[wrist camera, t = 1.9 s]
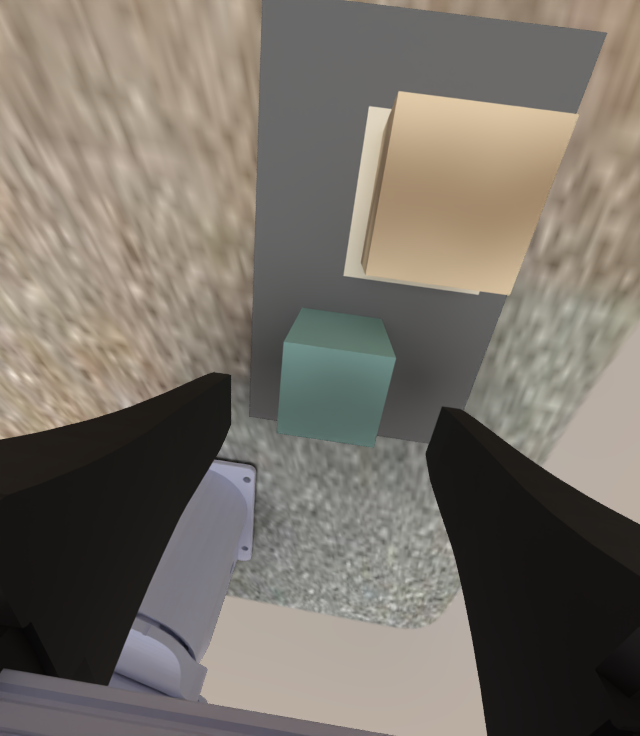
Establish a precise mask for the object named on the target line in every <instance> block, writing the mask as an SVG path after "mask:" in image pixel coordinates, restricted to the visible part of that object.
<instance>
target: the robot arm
mask: <svg viewBox="0 0 640 736" xmlns="http://www.w3.org/2000/svg"><path fill="white" fill-rule="evenodd" d="M230 426H231V375H229V374H222V373H215V372H213V373H210V374H207V375H204V376H202V377H200V378H197V379H195V380H193V381H191V382H188V383H186V384H184V385H182V386H180V387H177V388H175V389H173V390H171V391H168V392H166V393H164V394H161V395H159V396H156V397H154V398H151V399H149V400H146V401H144V402H141V403H139V404H136V405H134V406H131V407H128V408H125V409H122V410H119V411H116V412H113V413H110V414H107V415H104V416H100V417H97V418H94V419H90V420H87V421H83V422H79V423H75V424H71V425H67V426H63V427H59V428H55V429H51V430H47V431H42V432H38V433H33V434H28V435H23V436H18V437H12V438H7V439H1V440H0V736H393V735H388V734H382V733H376V732H370V731H365V730H359V729H352V728H347V727H341V726H335V725H330V724H324V723H318V722H312V721H306V720H300V719H295V718H289V717H283V716H277V715H272V714H266V713H260V712H254V711H248V710H243V709H236V708H231V707H224V706H219V705H214V704H208V703H207V700H206V699H205V698H203V697H202V696H201V695H200V692H201V689H202V686H203V682H204V679H205V676H206V673H207V668H206V667H204V666H202V665H201V664H199V662H200V661H201V659H202V658H203V656H204V654H205V652H206V650H207V648H208V646H209V644H210V641H211V638H212V635H213V632H214V629H215V626H216V623H217V620H218V617H219V614H220V611H221V607H222V605H223V602H224V599H225V596H226V592H227V589H228V586H229V583H230V580H231V577H232V574H233V571H234V568H235V565H236V562H237V560H244V561H247V560H250V559H251V556H252V547H253V526H254V504H255V483H256V469H255V468H254V467H253V466H251V465H247V464H240V463H234V462H227V461H221V460H214V459H215V458H216V456H217V454H218V453H219V451H220V449H221V447H222V445H223V442H224V440H225V438H226V436H227V433H228V431H229V428H230ZM426 460H427V466H428V472H429V477H430V482H431V485H432V488H433V491H434V494H435V497H436V501H437V504H438V507H439V510H440V513H441V516H442V519H443V522H444V525H445V528H446V531H447V534H448V537H449V540H450V543H451V546H452V549H453V553H454V556H455V560H456V564H457V568H458V573H459V577H460V582H461V586H462V591H463V595H464V600H465V605H466V610H467V615H468V620H469V625H470V631H471V636H472V641H473V646H474V653H475V659H476V664H477V671H478V676H479V682H480V688H481V695H482V702H483V709H484V716H485V723H486V730H487V736H640V524H638V523H636V522H634V521H632V520H630V519H629V518H627V517H625V516H623V515H621V514H619V513H617V512H615V511H614V510H612V509H610V508H608V507H606V506H604V505H602V504H600V503H599V502H597V501H595V500H593V499H592V498H590V497H588V496H586V495H585V494H583V493H581V492H580V491H578V490H576V489H575V488H573V487H572V486H570V485H568V484H567V483H565V482H563V481H562V480H560V479H559V478H557V477H555V476H554V475H552V474H551V473H549V472H548V471H546V470H545V469H543V468H542V467H540V466H539V465H537V464H536V463H535V462H533V461H532V460H530V459H529V458H527V457H526V456H524V455H523V454H522V453H520V452H519V451H518V450H516V449H515V448H513V447H512V446H511V445H509V444H508V443H507V442H505V441H504V440H503V439H501V438H500V437H499V436H497V435H496V434H495V433H493V432H492V431H491V430H489V429H488V428H487V427H486V426H484V425H483V424H482V423H480V422H479V421H478V420H476V419H475V418H473V417H472V416H471V415H469V414H468V413H466V412H465V411H463V410H461V409H458V408H451V407H444V406H442V408H441V411H440V413H439V416H438V419H437V422H436V425H435V428H434V431H433V434H432V437H431V440H430V442H429V445H428V448H427V451H426ZM246 477H249V478H250V479H248V478H246Z"/></svg>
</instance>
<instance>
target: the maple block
mask: <svg viewBox="0 0 640 736" xmlns="http://www.w3.org/2000/svg"><path fill="white" fill-rule="evenodd" d="M578 116H579V114H573V113H565V112H558V111H550V110H542V109H534V108H526V107H519V106H511V105H503V104H495V103H487V102H480V101H472V100H464V99H456V98H448V97H441V96H433V95H425V94H417V93H409V92H402V91H398V94H397V97H396V99H395V102H394V104H393V107H392V110H391V112H390V115H389V117H388V120H387V123H386V125H385V128H384V130H383V136H382V141H381V147H380V153H379V159H378V165H377V171H376V176H375V182H374V188H373V194H372V200H371V206H370V211H369V217H368V223H367V229H366V235H365V241H364V246H363V252H362V258H361V265H362V267H363V270H364V273H365V275H368V276H375V277H382V278H389V279H396V280H403V281H411V282H418V283H425V284H432V285H439V286H446V287H453V288H461V289H468V290H475V291H482V292H489V293H496V294H503V295H510V293H511V291H512V288H513V286H514V283H515V280H516V278H517V275H518V273H519V270H520V267H521V265H522V262H523V260H524V257H525V254H526V252H527V249H528V247H529V244H530V241H531V239H532V236H533V234H534V231H535V228H536V226H537V223H538V220H539V218H540V215H541V213H542V210H543V207H544V205H545V202H546V200H547V197H548V194H549V192H550V189H551V187H552V184H553V181H554V179H555V176H556V174H557V171H558V168H559V166H560V163H561V161H562V158H563V155H564V153H565V150H566V148H567V145H568V142H569V140H570V137H571V135H572V132H573V129H574V127H575V124H576V122H577V119H578Z"/></svg>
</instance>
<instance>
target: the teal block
mask: <svg viewBox="0 0 640 736" xmlns="http://www.w3.org/2000/svg"><path fill="white" fill-rule="evenodd" d="M395 360H396V357H395V354H394V351H393V348H392V346H391V343H390V340H389V338H388V335H387V332H386V329H385V327H384V324H383V321H382V319H378V318H371V317H364V316H357V315H350V314H343V313H336V312H329V311H322V310H315V309H308V308H302V309H301V311H300V313H299V314H298V316H297V318H296V320H295V322H294V324H293V326H292V327H291V329H290V331H289V333H288V335H287V337H286V339H285V340H284V345H283V357H282V370H281V383H280V396H279V408H278V421H277V433H279V434H286V435H293V436H299V437H306V438H313V439H319V440H326V441H333V442H339V443H346V444H352V445H359V446H366V447H372V448H374V445H375V441H376V436H377V432H378V428H379V424H380V420H381V416H382V412H383V408H384V404H385V400H386V396H387V392H388V388H389V384H390V380H391V376H392V372H393V368H394V364H395Z"/></svg>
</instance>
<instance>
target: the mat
mask: <svg viewBox="0 0 640 736" xmlns="http://www.w3.org/2000/svg"><path fill="white" fill-rule="evenodd" d="M606 34H607V33H605V32H597V31H589V30H581V29H573V28H565V27H557V26H548V25H540V24H532V23H524V22H516V21H508V20H500V19H491V18H483V17H475V16H467V15H459V14H451V13H443V12H434V11H426V10H418V9H410V8H402V7H394V6H386V5H377V4H369V3H361V2H353V1H345V0H262V26H261V58H260V90H259V122H258V154H257V186H256V218H255V250H254V282H253V314H252V346H251V378H250V410H249V417H256V418H262V419H269V420H276V421H278V408H279V396H280V383H281V370H282V357H283V345H284V340H285V339H286V337H287V335H288V333H289V331H290V329H291V327H292V326H293V324H294V322H295V320H296V318H297V316H298V314H299V313H300V311H301V309H302V308H308V309H315V310H322V311H329V312H336V313H343V314H350V315H357V316H364V317H371V318H378V319H382V321H383V324H384V327H385V329H386V332H387V335H388V338H389V340H390V343H391V346H392V348H393V351H394V354H395V357H396V360H395V364H394V368H393V372H392V376H391V380H390V384H389V388H388V392H387V396H386V400H385V404H384V408H383V412H382V416H381V420H380V424H379V428H378V432H377V436H383V437H389V438H396V439H403V440H409V441H416V442H423V443H429V442H430V440H431V437H432V434H433V431H434V428H435V425H436V422H437V419H438V416H439V413H440V411H441V408H442V406H444V407H451V408H458V409H461V410H464V407H465V405H466V402H467V400H468V397H469V394H470V392H471V389H472V386H473V384H474V381H475V379H476V376H477V373H478V371H479V368H480V365H481V363H482V360H483V358H484V355H485V352H486V350H487V347H488V344H489V342H490V339H491V337H492V334H493V331H494V329H495V326H496V323H497V321H498V318H499V316H500V313H501V310H502V308H503V305H504V302H505V300H506V297H507V295H503V294H496V293H489V292H482V291H475V290H468V289H461V288H453V287H446V286H439V285H432V284H425V283H418V282H411V281H403V280H396V279H389V278H382V277H375V276H368V275H365V273H364V270H363V267H362V265H361V258H362V252H363V246H364V241H365V235H366V229H367V223H368V217H369V211H370V206H371V200H372V194H373V188H374V182H375V176H376V171H377V165H378V159H379V153H380V147H381V141H382V136H383V130H384V128H385V125H386V123H387V120H388V117H389V115H390V112H391V110H392V107H393V104H394V102H395V99H396V97H397V94H398V91H402V92H409V93H417V94H425V95H433V96H441V97H448V98H456V99H464V100H472V101H480V102H487V103H495V104H503V105H511V106H519V107H526V108H534V109H542V110H550V111H558V112H565V113H573V114H576V113H577V111H578V108H579V105H580V103H581V100H582V98H583V95H584V92H585V90H586V87H587V84H588V82H589V79H590V76H591V74H592V71H593V69H594V66H595V63H596V61H597V58H598V55H599V53H600V50H601V48H602V45H603V42H604V40H605V37H606Z"/></svg>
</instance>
